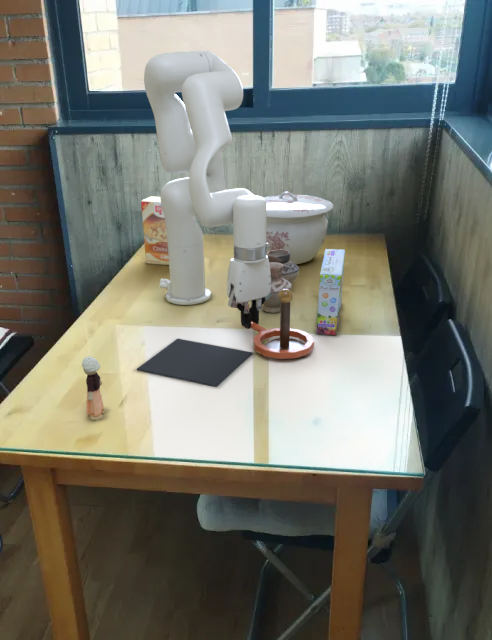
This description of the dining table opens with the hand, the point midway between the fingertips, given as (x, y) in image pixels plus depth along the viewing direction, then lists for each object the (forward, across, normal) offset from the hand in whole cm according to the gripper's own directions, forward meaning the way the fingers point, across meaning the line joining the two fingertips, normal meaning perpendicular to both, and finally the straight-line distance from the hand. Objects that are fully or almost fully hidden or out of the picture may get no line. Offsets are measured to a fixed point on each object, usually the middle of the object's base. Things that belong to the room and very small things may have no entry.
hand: (249, 325), depth 169 cm
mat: (+2, +20, +7) cm, 21 cm away
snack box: (+2, -21, +6) cm, 21 cm away
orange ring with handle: (0, 0, +8) cm, 9 cm away
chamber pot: (+2, -42, -40) cm, 59 cm away
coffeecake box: (+3, -12, -61) cm, 62 cm away
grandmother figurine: (+2, +48, +16) cm, 51 cm away
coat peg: (+1, 0, +14) cm, 14 cm away
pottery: (+2, -18, -14) cm, 23 cm away
